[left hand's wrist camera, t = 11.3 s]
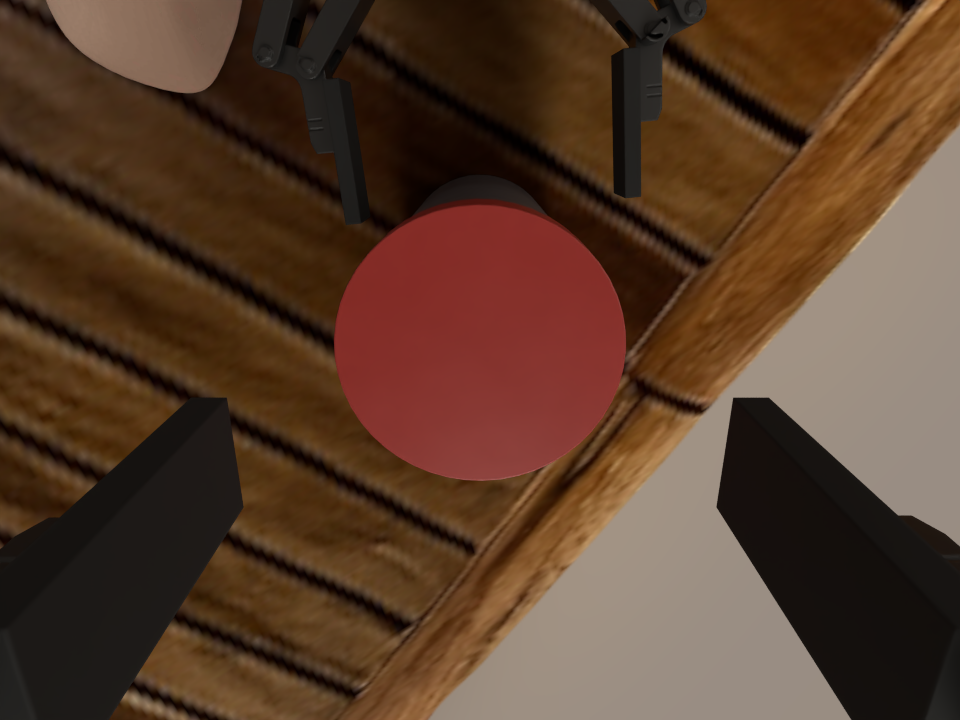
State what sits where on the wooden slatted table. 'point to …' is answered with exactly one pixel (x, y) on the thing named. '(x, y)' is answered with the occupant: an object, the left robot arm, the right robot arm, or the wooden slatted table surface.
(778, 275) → the wooden slatted table surface
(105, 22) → the anatomical model
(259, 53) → the right robot arm
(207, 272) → the wooden slatted table surface
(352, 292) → the lid
